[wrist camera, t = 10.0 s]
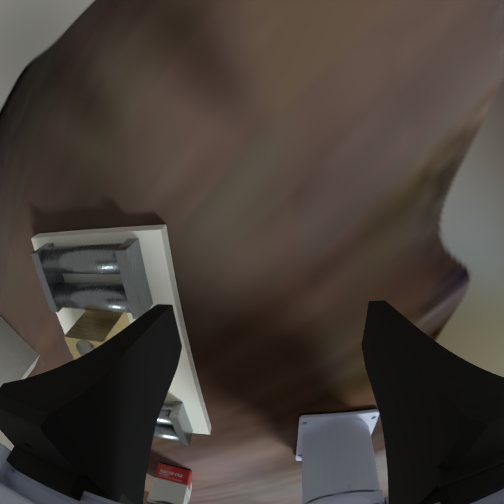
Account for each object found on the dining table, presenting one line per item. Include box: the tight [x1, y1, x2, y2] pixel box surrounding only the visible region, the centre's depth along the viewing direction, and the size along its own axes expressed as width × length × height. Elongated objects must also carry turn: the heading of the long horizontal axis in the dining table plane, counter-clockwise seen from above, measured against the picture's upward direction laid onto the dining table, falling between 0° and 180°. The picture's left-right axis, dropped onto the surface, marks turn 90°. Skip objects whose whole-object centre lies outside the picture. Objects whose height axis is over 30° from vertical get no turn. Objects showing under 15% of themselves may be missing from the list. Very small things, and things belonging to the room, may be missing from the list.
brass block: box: [64, 310, 130, 360], centre depth 22 cm, size 9×4×4 cm, turn 4°
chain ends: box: [31, 238, 193, 445], centre depth 23 cm, size 21×9×2 cm, turn 4°
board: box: [31, 224, 211, 434], centre depth 24 cm, size 22×12×1 cm, turn 4°
